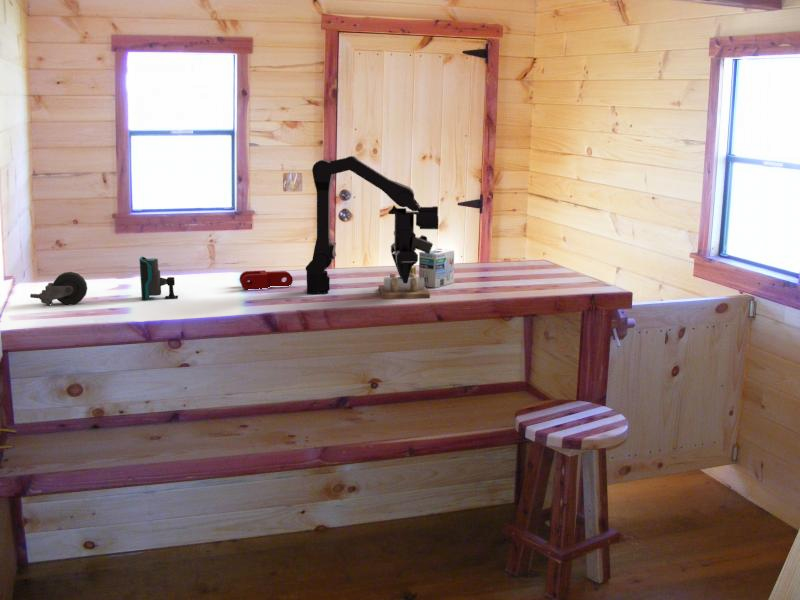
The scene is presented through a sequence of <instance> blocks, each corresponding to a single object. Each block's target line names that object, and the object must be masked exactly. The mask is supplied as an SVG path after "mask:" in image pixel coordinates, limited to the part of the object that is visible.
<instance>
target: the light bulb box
mask: <svg viewBox="0 0 800 600" xmlns="http://www.w3.org/2000/svg"><path fill="white" fill-rule="evenodd" d="M418 253H419V255H418V263H419V265H418V277H424V279H425V280H424V286H425V287H426V288H427V287H429V288H432V289H433V288H435V289H436V288H440V287H443V286H448V285H451V284H452V285H453V284H454V283H455V281H454V280H455V279H454V276H455V275H454V274H455V273H454V271H455V268H454V267H455V250H451V249H443V248H439V247H437V248H435V249H431V251H430V253H429V254H427V253H425V252H424V251H419V252H418Z"/></svg>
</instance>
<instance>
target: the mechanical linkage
mask: <svg viewBox="0 0 800 600" xmlns="http://www.w3.org/2000/svg"><path fill="white" fill-rule="evenodd" d="M285 278H286V279H285ZM283 279H285V281H283ZM293 281H294V280H293V276H292V275H291V273H290V272H288V271H287V270H278V271H277V270H276V271H273V270H272V271H266V270H247V271H243V272H241V274H240V275H239V282H240V284H241V287H242V289H243V290H245V291H246V290H248V289H259V288H260V289H262V288H268V287H270V286H289V285H290V287H291V286H292V284H293ZM268 289H269V288H268Z"/></svg>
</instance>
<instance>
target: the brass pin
mask: <svg viewBox="0 0 800 600" xmlns="http://www.w3.org/2000/svg"><path fill="white" fill-rule="evenodd" d="M416 270H417V266H416V265H413V266H412V267H411V270H410V274H415V277H417V275H416V273H417V271H416Z"/></svg>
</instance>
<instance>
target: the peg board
mask: <svg viewBox="0 0 800 600" xmlns="http://www.w3.org/2000/svg"><path fill="white" fill-rule="evenodd" d="M389 277H397V275H396V273H390V274H389ZM409 277H415V274H409ZM378 291H379V293H380V296H381V297H382V299H431V298H430V297H431V293H430V291H429V290H428V289H427V286H424V290H418V278H412V290H399V291H398V278H392V291H385V290H384V284H379V285H378Z"/></svg>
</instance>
